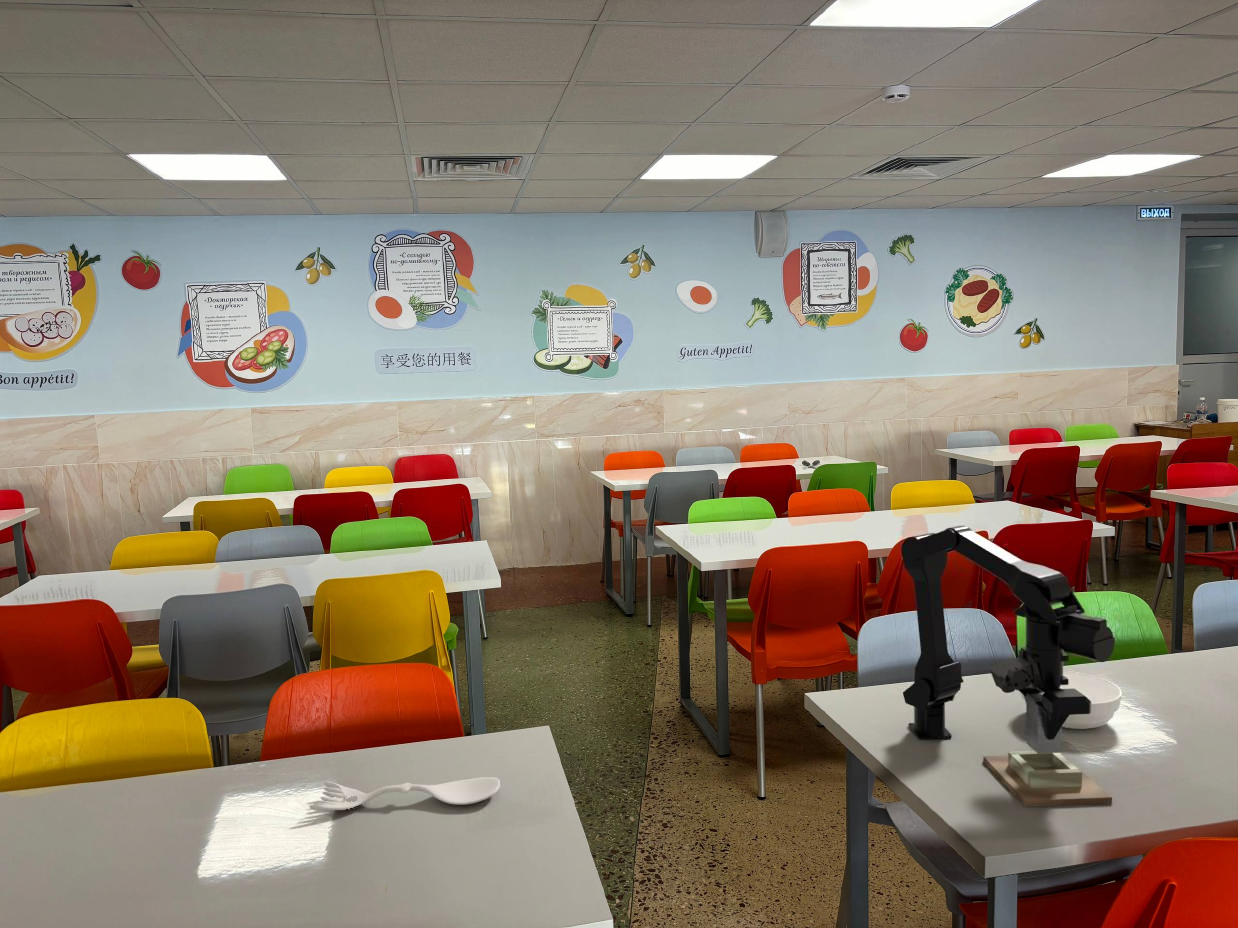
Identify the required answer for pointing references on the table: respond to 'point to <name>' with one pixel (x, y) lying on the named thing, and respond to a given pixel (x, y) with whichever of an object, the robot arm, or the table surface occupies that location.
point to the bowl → (1092, 699)
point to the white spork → (445, 792)
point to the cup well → (1045, 779)
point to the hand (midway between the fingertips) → (1043, 733)
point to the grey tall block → (1039, 727)
